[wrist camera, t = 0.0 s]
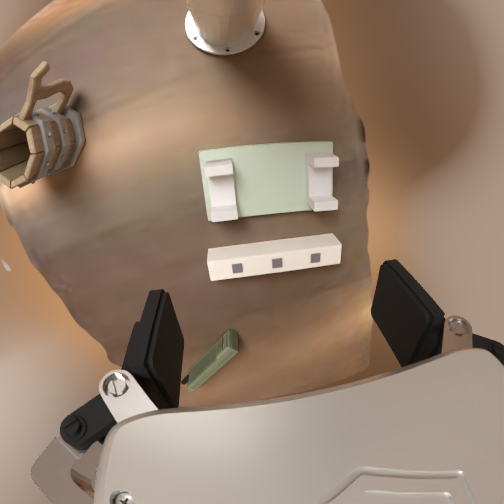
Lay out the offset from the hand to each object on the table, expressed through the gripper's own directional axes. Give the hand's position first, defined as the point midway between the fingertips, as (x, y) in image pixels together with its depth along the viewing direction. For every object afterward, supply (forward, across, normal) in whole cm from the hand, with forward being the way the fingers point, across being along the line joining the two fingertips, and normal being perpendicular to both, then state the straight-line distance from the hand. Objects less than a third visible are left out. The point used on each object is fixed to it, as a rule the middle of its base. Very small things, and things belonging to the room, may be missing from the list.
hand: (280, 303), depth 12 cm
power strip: (+37, -5, +18) cm, 42 cm away
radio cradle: (+37, -5, +4) cm, 37 cm away
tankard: (+37, +30, -13) cm, 49 cm away
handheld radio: (+37, +13, +47) cm, 61 cm away
